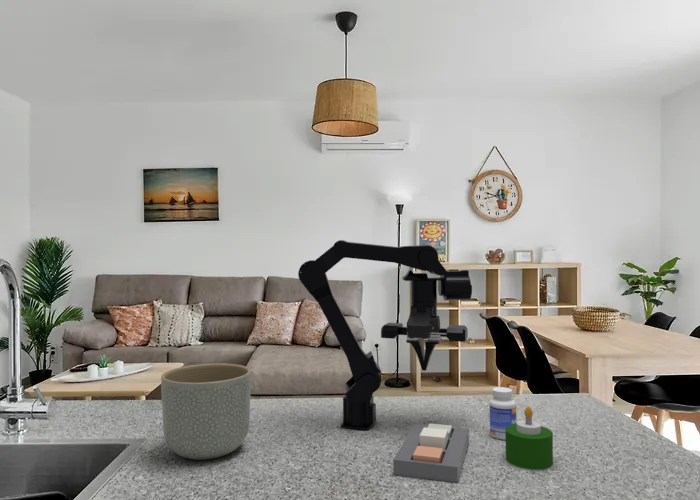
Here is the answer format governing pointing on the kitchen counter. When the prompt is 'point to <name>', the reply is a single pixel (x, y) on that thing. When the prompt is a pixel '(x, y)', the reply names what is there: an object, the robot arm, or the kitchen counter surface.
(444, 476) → the keypad
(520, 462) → the candle
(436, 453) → the key terracotta
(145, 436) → the kitchen counter surface
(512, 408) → the pill bottle
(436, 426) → the key sage
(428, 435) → the key white
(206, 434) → the planter
